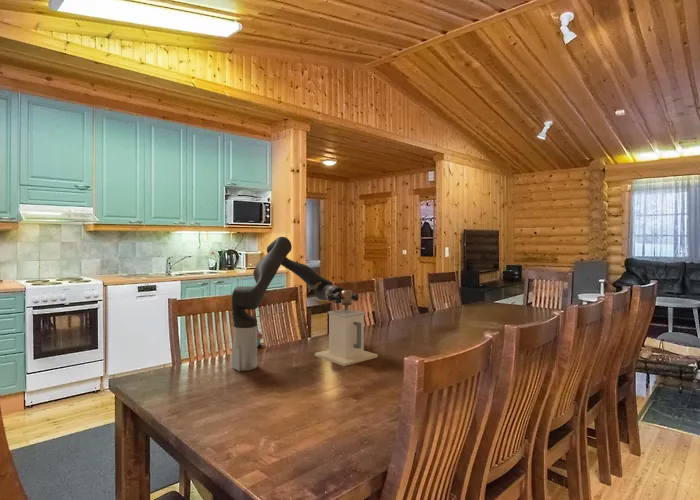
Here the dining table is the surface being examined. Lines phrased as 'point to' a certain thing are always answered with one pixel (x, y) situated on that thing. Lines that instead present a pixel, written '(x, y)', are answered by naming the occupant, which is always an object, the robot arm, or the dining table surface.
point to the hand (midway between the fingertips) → (348, 299)
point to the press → (346, 338)
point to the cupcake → (259, 337)
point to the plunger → (346, 298)
